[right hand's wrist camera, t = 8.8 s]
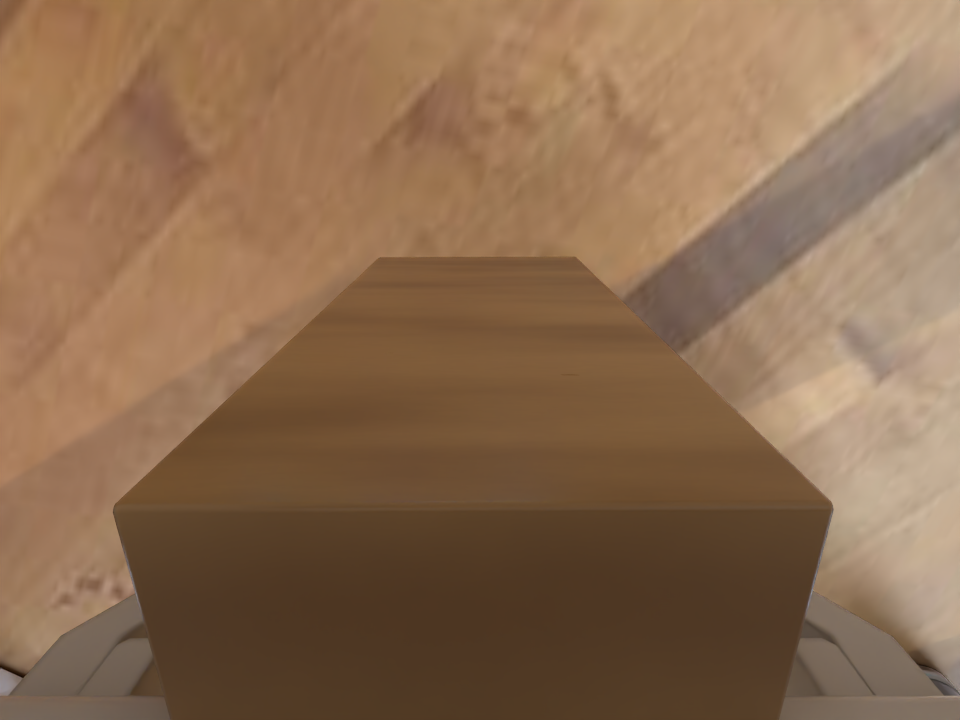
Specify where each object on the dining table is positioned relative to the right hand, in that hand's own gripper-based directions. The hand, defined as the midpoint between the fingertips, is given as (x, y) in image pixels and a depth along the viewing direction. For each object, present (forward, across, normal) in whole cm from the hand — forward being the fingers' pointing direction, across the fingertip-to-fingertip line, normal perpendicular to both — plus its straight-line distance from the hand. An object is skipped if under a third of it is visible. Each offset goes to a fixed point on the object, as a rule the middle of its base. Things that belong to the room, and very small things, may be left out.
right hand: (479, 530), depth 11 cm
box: (+7, 0, -10) cm, 12 cm away
